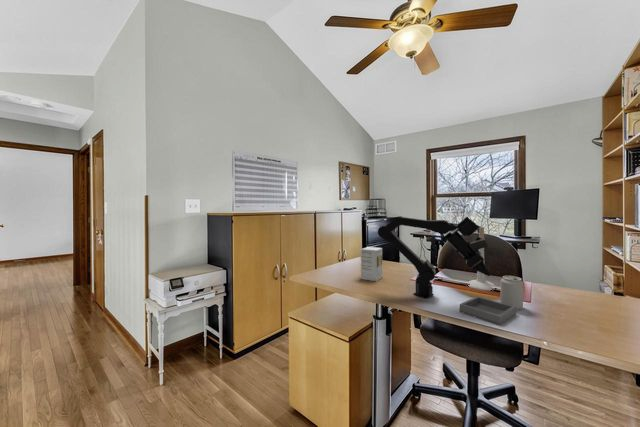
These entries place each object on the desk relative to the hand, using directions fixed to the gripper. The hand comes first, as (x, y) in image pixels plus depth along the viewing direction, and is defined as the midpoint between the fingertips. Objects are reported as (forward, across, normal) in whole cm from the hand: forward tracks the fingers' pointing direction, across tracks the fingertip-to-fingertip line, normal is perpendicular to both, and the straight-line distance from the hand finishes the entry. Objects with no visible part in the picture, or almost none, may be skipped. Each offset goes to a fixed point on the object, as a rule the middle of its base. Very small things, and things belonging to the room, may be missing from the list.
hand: (488, 272), depth 111 cm
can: (+15, 0, +3) cm, 16 cm away
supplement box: (-27, +17, +48) cm, 58 cm away
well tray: (+8, -11, +10) cm, 17 cm away
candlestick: (+10, +24, +9) cm, 27 cm away
